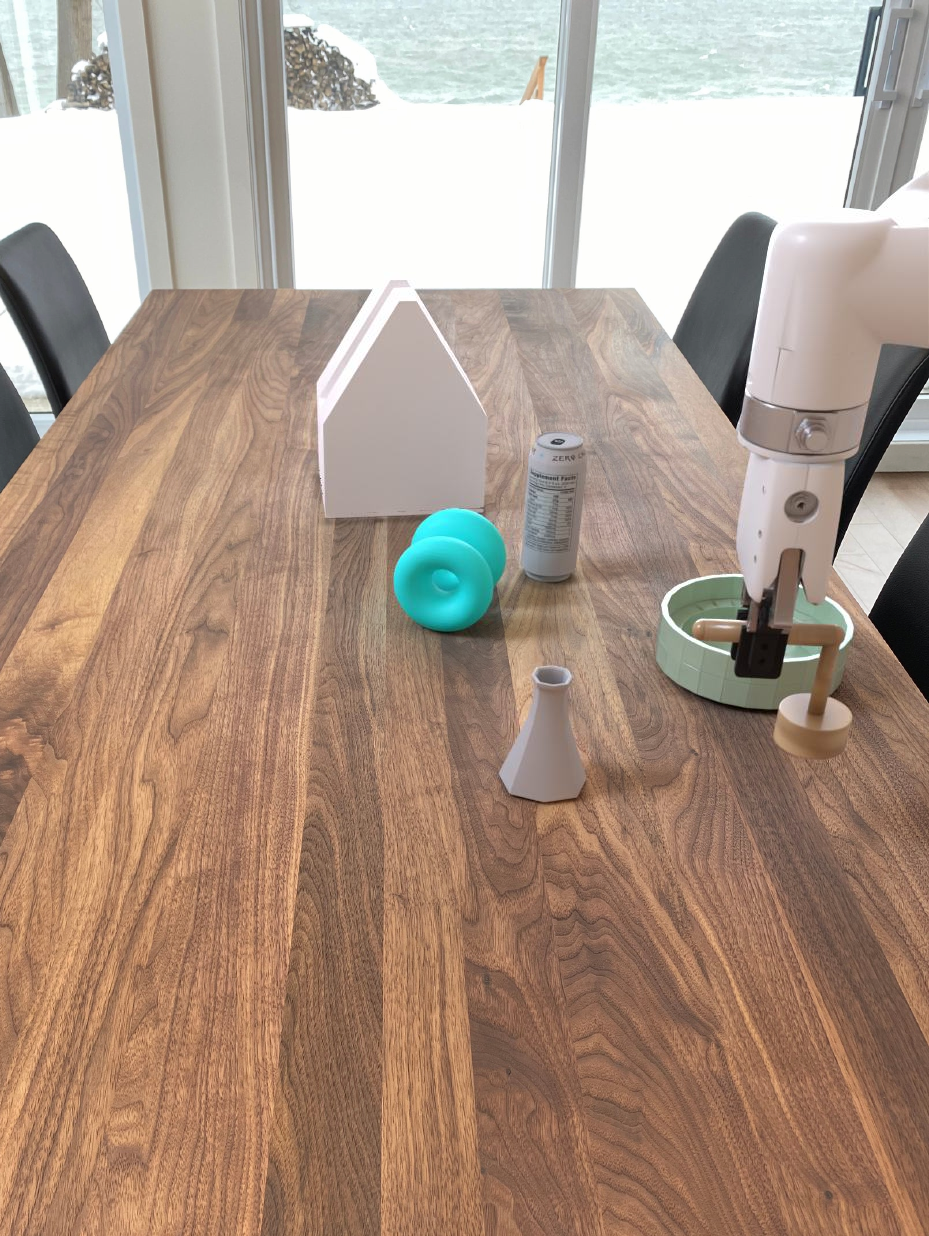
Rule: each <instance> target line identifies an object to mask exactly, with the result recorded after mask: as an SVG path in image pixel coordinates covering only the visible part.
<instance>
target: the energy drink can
mask: <svg viewBox="0 0 929 1236" xmlns="http://www.w3.org/2000/svg"><path fill="white" fill-rule="evenodd" d="M583 444H584V439H583V438H582V436H580V435H579V434H576V433H572V432H567V431H546V432H543V433H539V434H538V435H537V436H536V438H535V444H534V445H533V447H532V448H531V450H530V451H529V453H528V463H527V477H526V488H525V489H526V490H525V501H524V517H523V527H522V528H523V530H522V541H521V543H522V544H521V557H520V565H521V568H523V569H524V572H525V573H524V574H526V576H527V577H529V578H530V579H532V580H534V581H538V582H543V583H559V582H562V581H565V580H567V579H568V578H570V576H571V574H572V572H574V571H575V570H576V569H577V563H578V553H579V544H580V534H581V526H582V514H583V505H584V498H585V497H584V496H585V488H586V487H585V486H586V478H587V477H586V476H587V466H588V459H589V458H588V454H587V452H586V448H585V447H584V445H583Z"/></svg>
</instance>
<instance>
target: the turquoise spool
mask: <svg viewBox="0 0 929 1236" xmlns="http://www.w3.org/2000/svg"><path fill="white" fill-rule="evenodd" d="M506 564H507V550H506V546H505V542H504V540H503V537H502V535H501V533H500V532H499V530H498V528H497V527H496V526H495V524H493V523H492V522H491V521H490V520H489V519H488V518H486V517H485V516H483V515H482V514H480V513H476V512H473V511H470V510H466V509H459V508H452V509H445V510H442V511H439V512H437V513H434V514H430V515H429V516H428V517H426V518H425V519H424V520H423V521H422V522H421V523H420V524H419V526H418V527H417V528H416V530H415V532H414V533H413V536H412V539H411V543H410V546H409V547H407V549H406V550H405V551H404V552H403V553H402V554H401V556H400V557H399V559H398V561H397V562H396V564H395V568H394V572H393V589H394V594H395V597H396V600H397V602H398V604H399V605H400V608H401V609H402V610H403V612H404V613H405V614H406V615H407V616H408V617H409V618H410V619H412V620H413V622H415V623H416V624H419V625H420V626H422V627H424V628H426V629H429V630H432V631H437V632H444V633H445V632H449V633H450V632H457V631H461V630H464V629H467V628H469V627H471V626H472V625H475V624H476V623H477V622H478V621H479V620H480V619H482V618H483V616H485V614H486V612H487V611H488V609H489V608H490V605H491V603H492V600H493V597H494V587H495V586H496V585H497V584H498V583H499V582H500V580H501V578H502V577H503V574H504V572H505V568H506Z"/></svg>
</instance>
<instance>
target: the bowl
mask: <svg viewBox="0 0 929 1236" xmlns="http://www.w3.org/2000/svg"><path fill="white" fill-rule="evenodd" d="M743 581H744V578H743V574H742V573H726V574H712V575H705V576H702V577H696V578H692V579H689V580H686V581H684V582H681V583H679V584H677V585H675V586H674V587H673V588H671V589H670V590H669V591H667V592H666V594H665V596H664V598H663V599H662V602H661V604H660V610H659V617H658V623H657V629H656V636H655V642H654V648H653V649H654V656H655V661H656V663H657V664H658V666H659V668H660V669H661V671H662V672H663V674H665V676H667V677H669V678H670V679H671V680H672V681H673V682H674V683H676V684H677V685H678V686H680V687H682V688H684V689H686V690H687V691H689V692H691V693H693V694H695V695H698V696H701V697H703V698H706V699H709V700H712V701H715V702H717V703H722V704H725V705H731V706H735V707H741V708H747V709H760V710H778V709H779V705H780V703H781V702H782V701H783V700H784V699H785V698H787V697H789V696H791V695H795V694H803V693H810V694H811V691H812V687H813V682H814V678H815V674H816V669H817V665H818V660H819V656H820V651H821V647H822V646H801V645H787V646H786V651H785V656H784V661H783V666H782V671H781V675H780V677H779V678H777V679H760V678H740V677H737V676H736V675H735V673H734V666H735V661H734V660H732V659H731V655H730V651H731V645H732V642H716V641H700V640H698V639H696V638H695V637H694V636H693V633H692V627H693V624H694V623H695V622H696V621H697V620H699V619H724V620H736V617H737V611H738V609H745V610H747V608H741V605H740V600H741V593H742V587H743ZM793 623H813V624H835V625H839V626H840V627H842V628H843V630H844V631H845V639H844V641H843V643H842V644H840V648H839V652H838V657H837V661H836V665H835V669H834V674H833V678H832V682H831V686H830V691H829V695H828V697H830V696H831V695H832V694H834V692H835V691H836V690H837V689H838V687H839V686H840V685H841V684H842V680H843V676H844V673H845V669H846V664H847V661H848V657H849V653H850V650H851V646H852V642H853V638H854V632H855V625H854V622H853V621H852V618H851V616H850V614H849V613H848V612H847V611H846V610H845V609H844V608H843V607H842V605H841V604H839V603H838V602H836V601H835V600H833V599H831V598H830V597H828V596H827V595H826V598H825V600H824V602H823V603H822V604H820V605H819V606H814V605H813V604H812V603H808V601H807V598H806V596H805V593H804V590H803V587H802V585H801V584H800V585H799V590H798V594H797V599H796V604H795V608H794V616H793Z"/></svg>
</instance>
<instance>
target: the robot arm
mask: <svg viewBox="0 0 929 1236" xmlns="http://www.w3.org/2000/svg"><path fill="white" fill-rule="evenodd" d="M767 248H768V249H767V254H766V259H765V264H764V265H765V266H764V273H763V278H762V285H761V291H760V296H759V302H758V309H757V314H756V322H755V327H754V334H753V339H752V346H751V351H750V359H749V366H748V369H747V370H748V371H747V378H746V384H745V390H744V396H743V403H742V408H741V414H740V421H739V426H738V427H739V428H738V433H737V441H738V444H739V445H740V446H741V447H743V448H744V449H746V451H748V452H749V459H748V462H747V463H748V464H747V468H746V473H745V479H744V484H743V489H742V495H741V499H740V500H741V501H740V506H739V511H738V512H739V513H738V520H737V528H736V540H735V547H736V554H737V559H738V563H739V567H740V571H741V574H743V578H744V581H743V587H742V593H741V600H740V605H741V608H747V610H745V609H738V611H737V617H736V620H747V625H742V627H741V633H740V638H739V643H737V642H732V645H731V651H730V655H731V659H732V660H734V661H735V666H734V673H735V675H736V676H737V677H740V678H760V679H777V678H779V677H780V675H781V671H782V666H783V661H784V656H785V651H786V646H787V642H788V637H789V632H790V629H791V628H792V624H793V616H794V608H795V604H796V599H797V594H798V590H799V585H802V587H803V590H804V593H805V596H806V598H807V601H808V603H812V604H813V605H814V606H819V605H820V604H822V603H823V602H824V600H825V598H826V596H827V594H828V593H827V592H828V588H829V584H830V577H831V570H832V565H833V560H834V554H835V547H836V542H837V537H838V536H837V535H838V530H839V523H840V519H841V518H840V517H841V512H842V511H841V510H842V504H843V503H842V502H843V494H844V485H845V484H844V483H845V471H846V470H845V469H846V460H847V459H849V458H851V457H853V456H855V455H856V454H857V453H858V451H859V449H860V444H861V439H862V437H863V431H864V426H865V422H866V417H867V413H868V408H869V404H870V399H871V395H872V391H873V387H874V382H875V377H876V373H877V368H878V364H879V359H880V354H881V350H882V346H883V345H884V344H891V345H900V346H908V347H909V346H910V347H916V348H923V349H929V168H927V169H925V170H924V171H923V172H922V173H920V174H918V175H917V176H916V177H914V178H913V179H911V180H910V181H909V182H907V183H905V184H904V185H902V186H901V187H900V188H898V190H896V191H895V192H894V193H893V194H892V195H890V196H889V197H888V198H887V199H886V200H885V201H883V203H882V204H881V205H880V206H878V208H877V209H876V210H875V211H872V210H869V209H868V210H867V209H859V208H847V207H818V208H808V209H802V210H798V211H795V212H792V213H789V214H788V215H786V216H785V217H783V218H782V219H780V221H779V222H778V223H777V224H776V226H775V227H774V229H773V230H772V233H771V236H770V239H769V244H768V247H767Z"/></svg>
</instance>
